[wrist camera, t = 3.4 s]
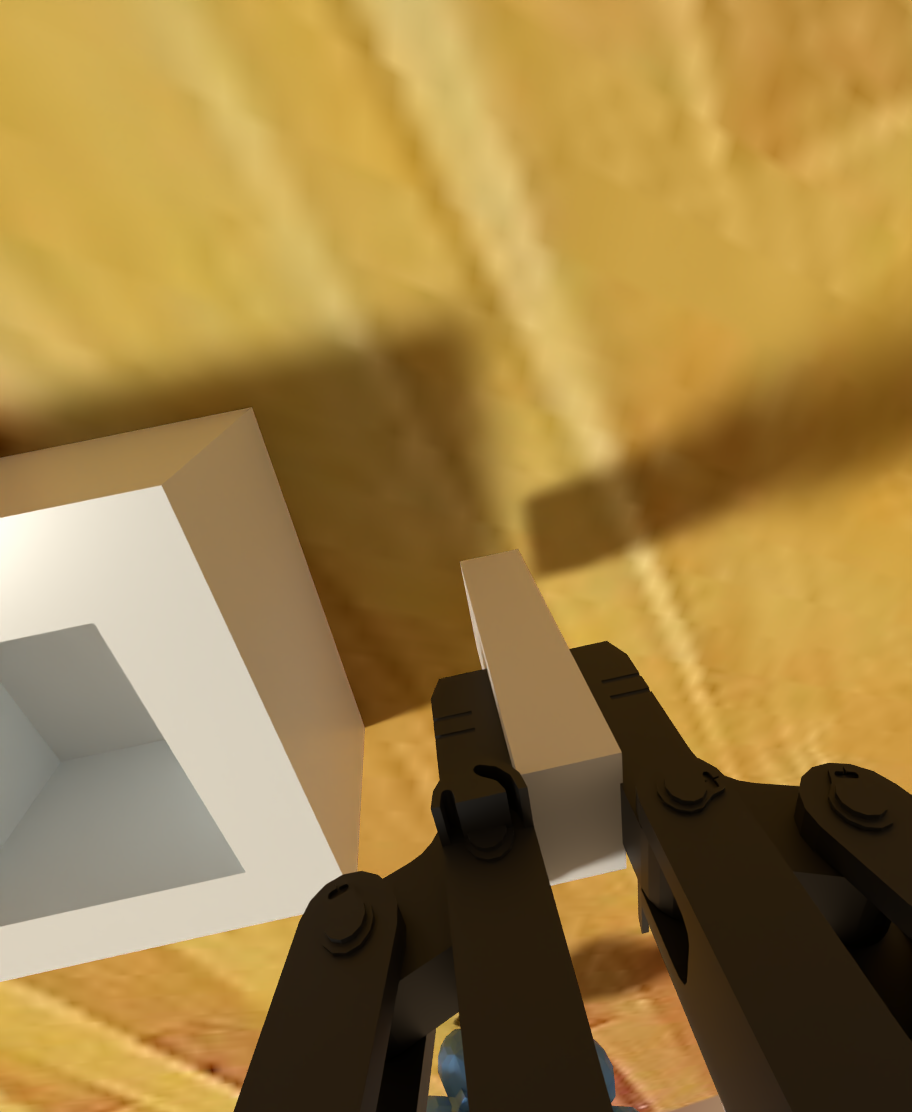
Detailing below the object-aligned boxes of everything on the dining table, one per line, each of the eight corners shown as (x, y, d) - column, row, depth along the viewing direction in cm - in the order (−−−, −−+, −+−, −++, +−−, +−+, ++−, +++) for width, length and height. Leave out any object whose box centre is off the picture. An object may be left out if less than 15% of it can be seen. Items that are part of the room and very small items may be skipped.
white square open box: (253, 405, 13) (161, 485, 8) (365, 723, 18) (355, 902, 13) (-190, 494, 13) (-600, 640, 7) (49, 791, 18) (-94, 1002, 13)
